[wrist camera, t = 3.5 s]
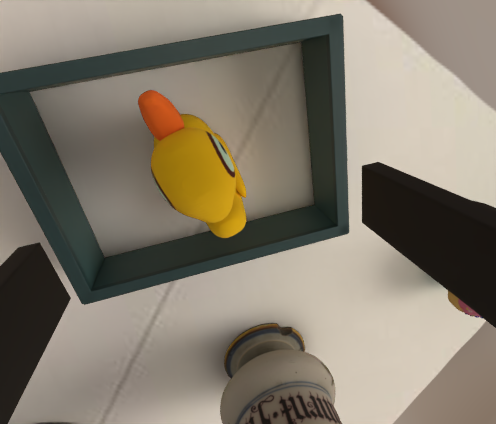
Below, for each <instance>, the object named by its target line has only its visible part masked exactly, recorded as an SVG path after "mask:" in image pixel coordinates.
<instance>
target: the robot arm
mask: <svg viewBox="0 0 496 424" xmlns="http://www.w3.org/2000/svg"><path fill="white" fill-rule="evenodd" d="M362 223H363V224H365V225H366V226H367V227H368V228H370V229H371V230H372V231H374V232H375V233H376V234H377V235H379V236H380V237H381V238H382V239H384V240H385V241H386V242H388V243H389V244H390V245H391V246H393V247H394V248H395V249H396V250H398V251H399V252H400V253H401V254H403V255H404V256H405V257H407V258H408V259H409V260H410V261H412V262H413V263H414V264H415V265H417V266H418V267H419V268H420V269H422V270H423V271H424V272H426V273H427V274H428V275H429V276H431V277H432V278H433V279H434V280H436V281H437V282H438V283H439V284H441V285H442V286H443V287H445V288H446V289H447V290H448V291H450V292H451V293H452V294H453V295H455V296H456V297H457V298H459V299H460V300H461V301H462V302H464V303H465V304H466V305H467V306H469V307H470V308H471V309H472V310H474V311H475V312H476V313H478V314H479V315H480V316H481V317H483V318H484V319H485V320H486V321H488V322H489V323H490V324H491V325H493V326H494V327H495V328H496V208H494V207H492V206H489V205H487V204H484V203H480V202H475V201H471V200H468V199H466V198H464V197H461V196H459V195H456V194H454V193H452V192H449V191H447V190H444V189H442V188H440V187H437V186H435V185H432V184H430V183H428V182H425V181H423V180H420V179H418V178H416V177H413V176H411V175H408V174H406V173H404V172H401V171H399V170H396V169H394V168H392V167H389V166H387V165H384V164H382V163H380V162H377V163H372V164H368V165H364V166H362ZM70 299H71V298H70V296H69V294H68V292H67V291H66V289H65V287H64V285H63V283H62V282H61V280H60V278H59V276H58V274H57V273H56V271H55V269H54V267H53V265H52V264H51V262H50V260H49V258H48V257H47V255H46V253H45V251H44V249H43V248H42V246H41V244H40V243H35V244H31V245H27V246H23V247H19V248H17V249H16V250H15V251H14V253H13V254H12V255H11V256H10V257H9V258H8V259H7V260H6V261H5V262H4V263H3V264H2V265H1V266H0V424H8V422H9V420H10V418H11V416H12V414H13V412H14V410H15V408H16V406H17V404H18V402H19V400H20V398H21V396H22V394H23V392H24V390H25V388H26V386H27V384H28V382H29V380H30V378H31V376H32V374H33V372H34V370H35V368H36V366H37V364H38V362H39V360H40V358H41V356H42V355H43V353H44V351H45V349H46V347H47V345H48V343H49V341H50V339H51V337H52V335H53V333H54V331H55V329H56V327H57V325H58V323H59V321H60V319H61V317H62V315H63V313H64V311H65V309H66V307H67V305H68V303H69V301H70Z"/></svg>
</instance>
